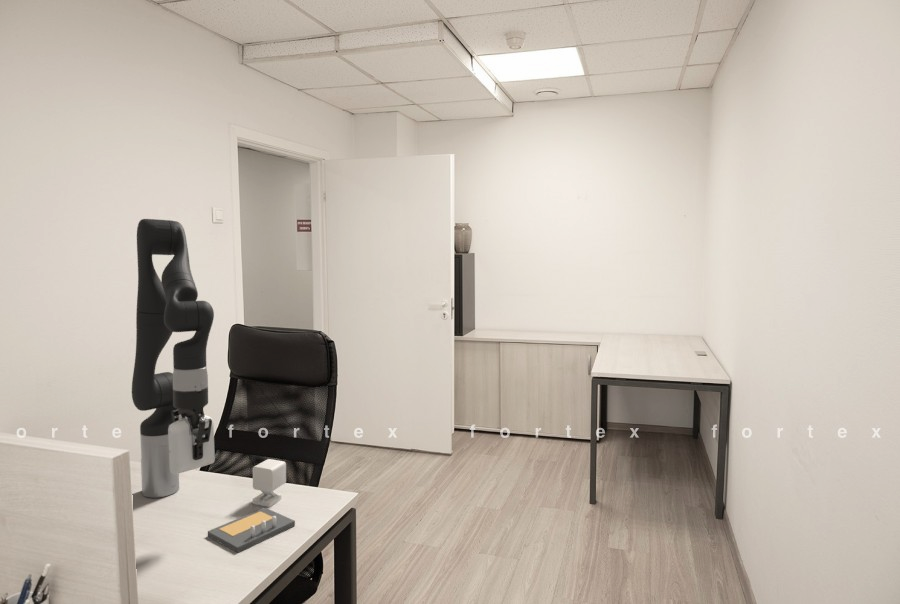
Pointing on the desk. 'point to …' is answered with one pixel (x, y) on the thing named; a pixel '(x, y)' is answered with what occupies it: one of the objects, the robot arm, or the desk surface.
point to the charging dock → (251, 529)
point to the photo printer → (187, 448)
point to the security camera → (268, 481)
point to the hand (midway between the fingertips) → (192, 456)
